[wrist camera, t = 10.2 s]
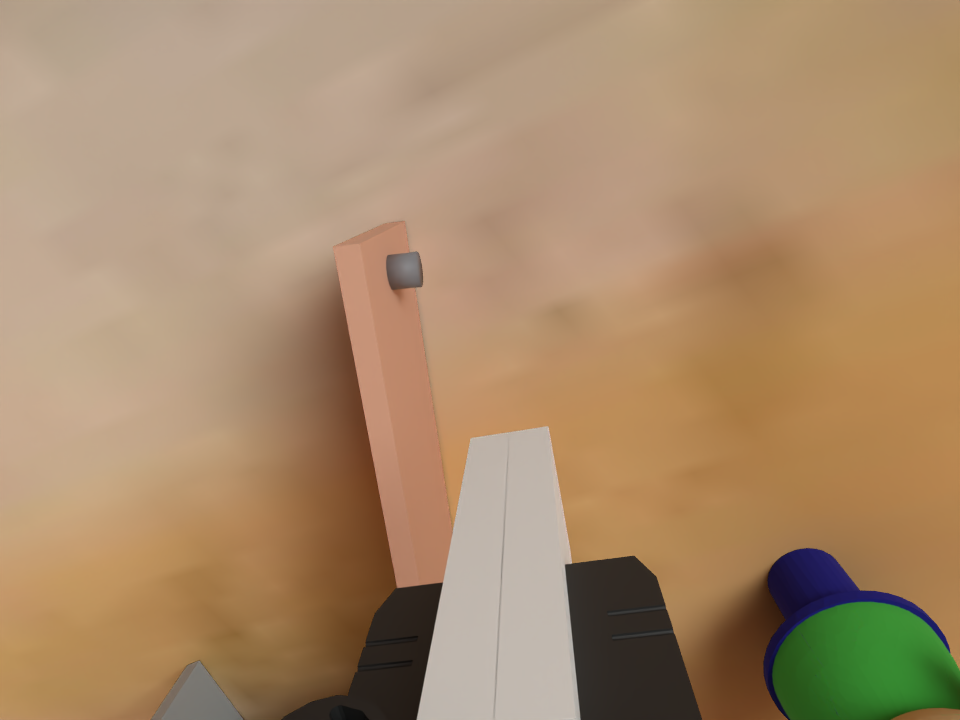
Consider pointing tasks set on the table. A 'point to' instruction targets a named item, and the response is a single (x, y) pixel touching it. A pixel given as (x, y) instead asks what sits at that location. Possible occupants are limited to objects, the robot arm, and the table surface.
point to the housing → (196, 698)
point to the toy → (853, 649)
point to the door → (397, 398)
